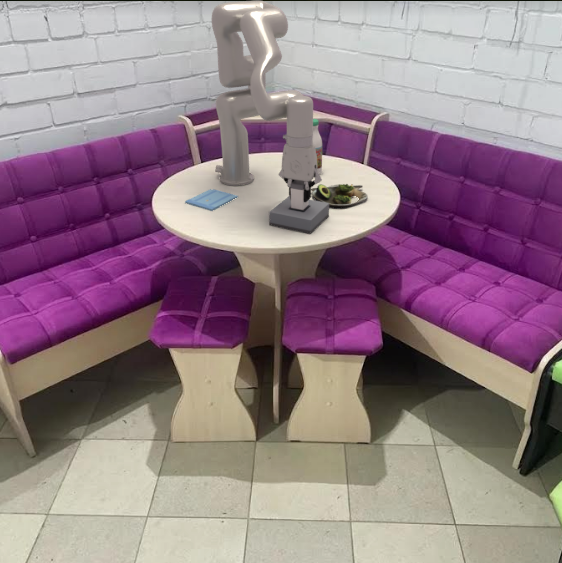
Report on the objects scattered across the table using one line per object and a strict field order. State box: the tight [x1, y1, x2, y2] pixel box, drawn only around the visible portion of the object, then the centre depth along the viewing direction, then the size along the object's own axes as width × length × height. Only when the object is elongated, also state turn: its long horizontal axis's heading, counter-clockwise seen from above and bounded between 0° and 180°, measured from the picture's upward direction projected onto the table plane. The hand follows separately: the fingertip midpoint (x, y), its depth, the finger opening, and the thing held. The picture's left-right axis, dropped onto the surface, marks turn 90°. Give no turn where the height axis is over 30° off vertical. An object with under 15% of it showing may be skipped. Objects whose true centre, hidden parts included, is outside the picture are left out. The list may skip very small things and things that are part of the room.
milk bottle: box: [313, 118, 323, 176], centre depth 208 cm, size 8×8×20 cm
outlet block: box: [268, 195, 330, 235], centre depth 176 cm, size 14×14×4 cm
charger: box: [291, 180, 308, 210], centre depth 172 cm, size 4×4×8 cm
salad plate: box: [311, 183, 368, 209], centre depth 192 cm, size 19×18×5 cm
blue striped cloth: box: [184, 188, 239, 212], centre depth 192 cm, size 14×12×1 cm
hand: (299, 198), depth 173 cm, fingers closed on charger, 4 cm apart
